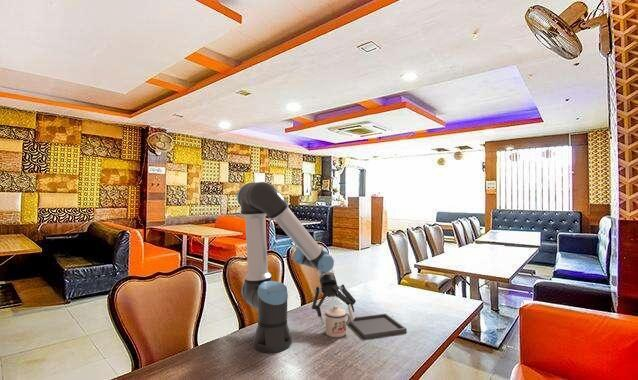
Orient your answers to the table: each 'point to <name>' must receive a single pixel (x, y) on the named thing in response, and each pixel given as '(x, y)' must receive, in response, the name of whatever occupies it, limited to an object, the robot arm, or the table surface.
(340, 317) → the teacup with lid
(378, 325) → the tea tray
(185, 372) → the table surface
